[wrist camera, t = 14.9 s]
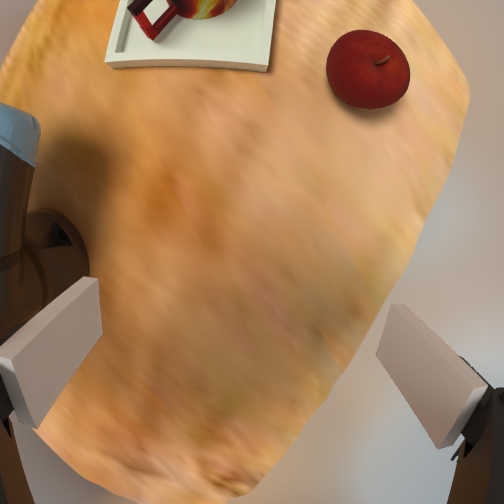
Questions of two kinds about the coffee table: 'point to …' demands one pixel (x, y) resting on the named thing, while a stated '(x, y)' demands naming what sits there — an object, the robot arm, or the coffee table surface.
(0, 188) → the robot arm
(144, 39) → the tray
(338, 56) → the apple
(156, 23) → the mug
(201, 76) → the coffee table surface
